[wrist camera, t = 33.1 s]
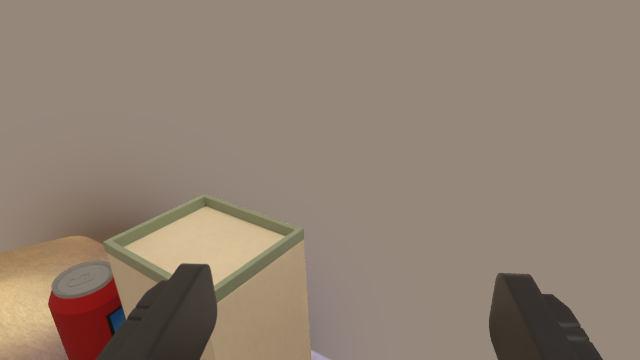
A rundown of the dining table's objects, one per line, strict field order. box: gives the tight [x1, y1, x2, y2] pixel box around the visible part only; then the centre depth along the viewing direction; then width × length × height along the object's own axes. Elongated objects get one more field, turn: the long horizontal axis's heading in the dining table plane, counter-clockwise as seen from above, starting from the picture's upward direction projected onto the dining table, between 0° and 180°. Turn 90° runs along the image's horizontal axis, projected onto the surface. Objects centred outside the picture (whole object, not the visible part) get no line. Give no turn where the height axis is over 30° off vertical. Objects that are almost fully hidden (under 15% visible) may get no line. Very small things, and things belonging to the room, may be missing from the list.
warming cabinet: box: [103, 194, 311, 360], centre depth 36 cm, size 12×10×19 cm
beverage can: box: [48, 261, 126, 360], centre depth 42 cm, size 7×7×12 cm
